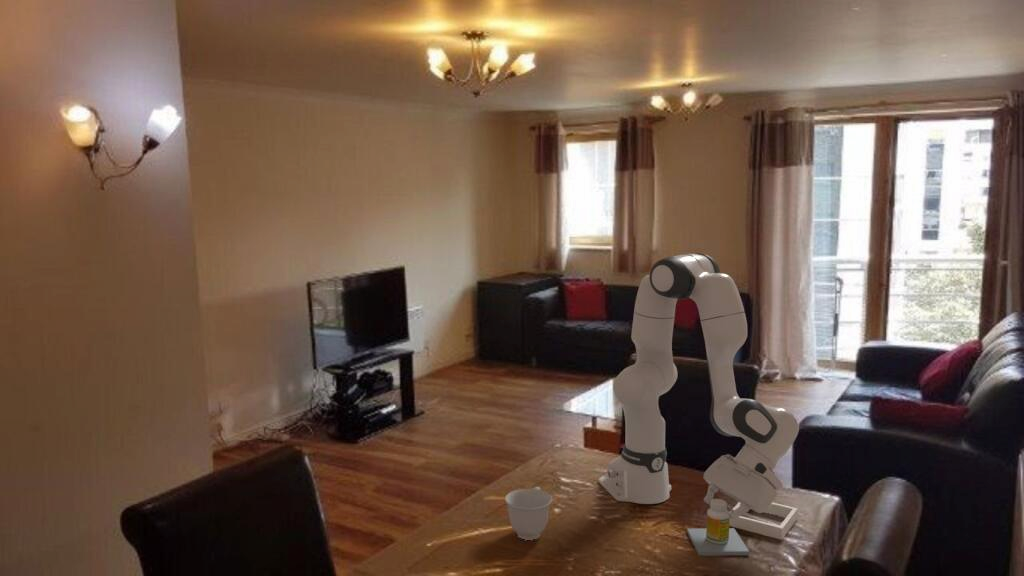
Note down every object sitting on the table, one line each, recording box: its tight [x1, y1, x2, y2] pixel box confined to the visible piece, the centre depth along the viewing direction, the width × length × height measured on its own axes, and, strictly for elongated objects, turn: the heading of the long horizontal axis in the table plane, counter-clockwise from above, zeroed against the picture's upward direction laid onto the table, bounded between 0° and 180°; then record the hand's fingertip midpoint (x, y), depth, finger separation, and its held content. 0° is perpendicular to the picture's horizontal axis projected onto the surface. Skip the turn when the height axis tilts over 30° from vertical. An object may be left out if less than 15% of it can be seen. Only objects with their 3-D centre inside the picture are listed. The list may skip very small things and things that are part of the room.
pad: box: [686, 527, 750, 557], centre depth 184 cm, size 12×12×1 cm
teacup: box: [504, 486, 553, 541], centre depth 190 cm, size 12×15×10 cm
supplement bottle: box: [706, 498, 730, 544], centre depth 183 cm, size 5×5×10 cm
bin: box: [729, 501, 799, 541], centre depth 195 cm, size 14×14×3 cm
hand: (718, 510), depth 183 cm, fingers open, 8 cm apart
